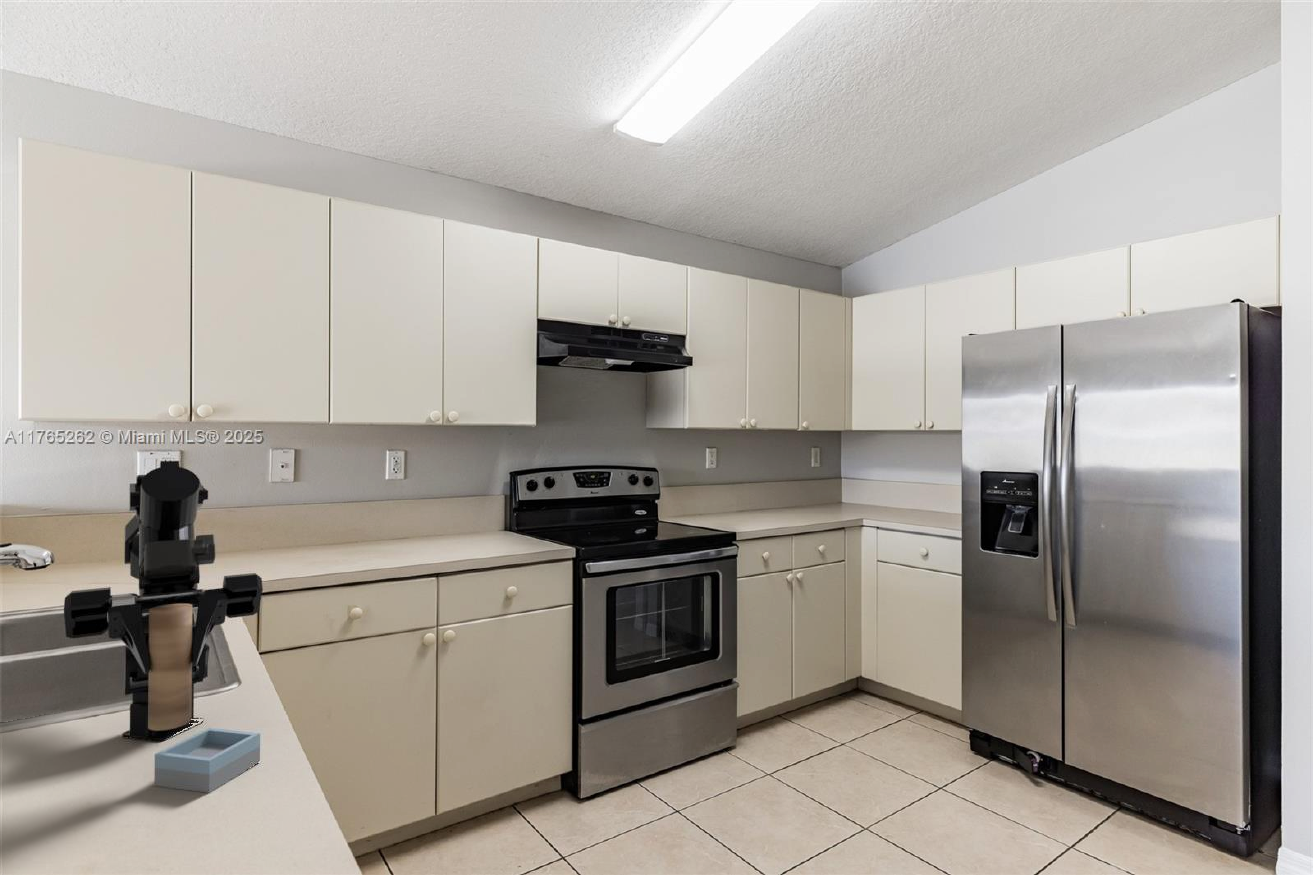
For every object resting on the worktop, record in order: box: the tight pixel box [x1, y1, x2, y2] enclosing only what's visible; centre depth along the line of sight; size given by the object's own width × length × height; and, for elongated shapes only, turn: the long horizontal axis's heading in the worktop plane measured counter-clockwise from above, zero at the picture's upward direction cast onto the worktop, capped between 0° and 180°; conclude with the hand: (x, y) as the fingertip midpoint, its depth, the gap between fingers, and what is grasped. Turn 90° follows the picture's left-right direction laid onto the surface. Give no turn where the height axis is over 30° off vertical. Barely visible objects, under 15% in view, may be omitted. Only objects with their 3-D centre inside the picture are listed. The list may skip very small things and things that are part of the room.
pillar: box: [148, 604, 193, 731], centre depth 78 cm, size 4×4×13 cm
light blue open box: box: [154, 727, 261, 794], centre depth 80 cm, size 7×7×4 cm
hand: (171, 667), depth 77 cm, fingers closed on pillar, 4 cm apart
